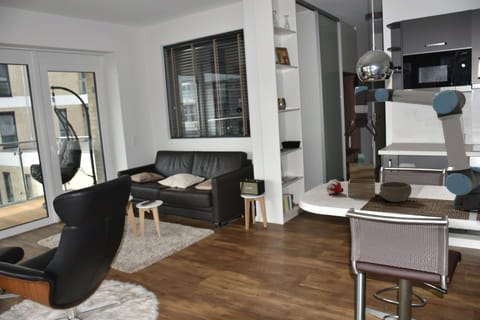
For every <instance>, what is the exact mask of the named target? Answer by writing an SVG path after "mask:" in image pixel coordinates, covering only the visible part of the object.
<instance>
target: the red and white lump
mask: <svg viewBox="0 0 480 320" xmlns="http://www.w3.org/2000/svg"><path fill="white" fill-rule="evenodd" d="M326 192H327V193H328V194H330V195H338V194H340V193H341V194H342V193H343V192H344V188H343V187H342V183H341V181H339V180H338V179H335V178H334V179H331V180H329V181H328V182H327V184H326Z"/></svg>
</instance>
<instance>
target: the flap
mask: <svg viewBox="0 0 480 320" xmlns="http://www.w3.org/2000/svg"><path fill="white" fill-rule="evenodd" d="M357 162H358V163H348V165H349V177H350V178H349V180H350V179H371V180H376V178H375V163H365V153H358V154H357Z"/></svg>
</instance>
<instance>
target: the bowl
mask: <svg viewBox="0 0 480 320" xmlns="http://www.w3.org/2000/svg"><path fill="white" fill-rule="evenodd" d="M412 189H413V188H412V187H411V185H410V183H408V182H402V181H401V182H400V181H389V182H387V181H386V182H382V183H380V187H379V192H378V194H379V196H380V197H382V198H383V200H385V201H386V202H390V203H402V202H405V201H407V200H408V199H409V198H410V196H411V195H412Z"/></svg>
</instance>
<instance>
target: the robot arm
mask: <svg viewBox="0 0 480 320" xmlns="http://www.w3.org/2000/svg"><path fill="white" fill-rule="evenodd" d="M368 88H369V87H368V86H356V87H355V88H354V94H353V95H354V120H349V123H348V126H347V128H346V130H345V132H344V134H343V136H345V137H346V141H347V143H348V148H351V146H352V142H351V141H352V139H351V137H352V136H351V135H352V134H353V133H354V132H355V130H356V129H357V128H358V129H361V128H363V129H364V128H366V129H367V130H368V132H370V134H371V135H372V137H371V138H372V140H371V141H372V145H371V146H372V148H375V142H376V140H377V136H379V135H380V134H379V133H380V132H379V131H378V130H377V127H376V126H375V124H374V120H373V119H371V120H369V118H368V117H369V116H368V115H369V113H368V111H369V108H368V107H369V103H382V102H389V103H400V104H411V105H419V106H420V105H421V106H430V107H431V106H432V108H433V111H435V112H436V116H437V119H438V120H439V121H440V122H441V125H442V126H441V127H442V133H443V139H444V145H445V151H446V156H447V162H448V167H447V168H445V169H446V171H445V172H446V176H447V177H446V178H445V182H444V183H445V187H446V189H447V190H448V191H449V193H451V194H453V195H455V196H454V199H453V201H452V208H453V207H455V208H458V209H463V210H480V166H472V165H470V164H469V163H468V157H467V153H466V147H465V140H464V134H463V127H462V122H461V117H462V116H463V112H464V111H463V108H464V107H465V106H466V103H467V98H466V96H465V94H464V93H463V92H462V91H460V90H457V89H453V90H452V89H444V90H441V91H439V92H438V91H435V92H434V91H423V90H411V89H410V90H409V89H397V88H396V89H395V88H372V89H368ZM353 124H354V125H355V126H354V127H353V128H352V129H351V130H350V128H351V127H352V125H353ZM368 124H370V125H371V126H372V128H373V130H374V131H373V130H372V129H371V128H370V126H368ZM349 131H350V132H349ZM455 208H454V209H455ZM458 209H457V210H458ZM463 210H462V211H463Z"/></svg>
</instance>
